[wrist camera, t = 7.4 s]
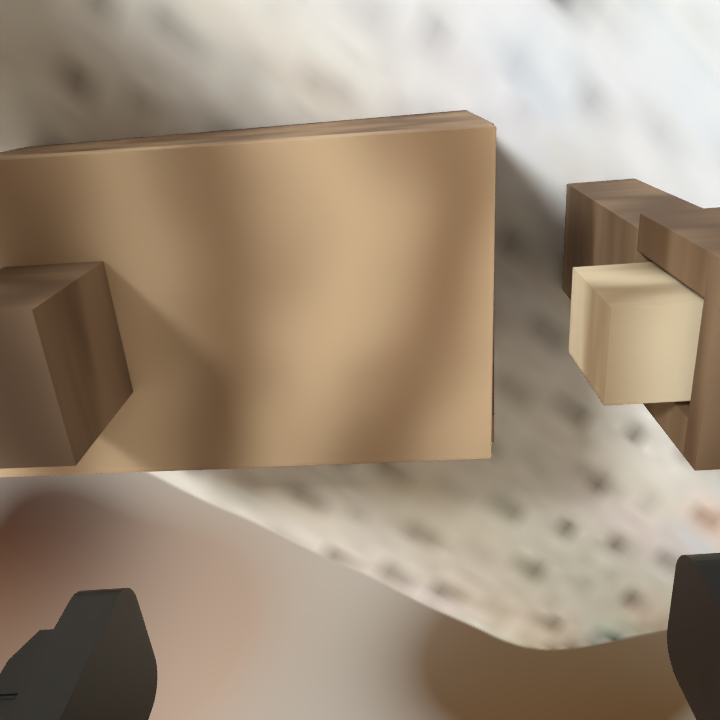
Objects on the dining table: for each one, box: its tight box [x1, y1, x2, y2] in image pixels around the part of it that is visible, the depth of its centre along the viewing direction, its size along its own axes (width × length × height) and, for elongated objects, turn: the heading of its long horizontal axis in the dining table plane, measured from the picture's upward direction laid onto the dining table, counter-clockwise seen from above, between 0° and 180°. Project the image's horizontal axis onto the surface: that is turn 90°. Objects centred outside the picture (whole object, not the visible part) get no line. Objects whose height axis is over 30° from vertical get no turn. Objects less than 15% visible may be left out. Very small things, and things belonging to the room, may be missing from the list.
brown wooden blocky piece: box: [0, 110, 720, 470], centre depth 25 cm, size 28×12×15 cm, turn 95°
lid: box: [0, 124, 496, 477], centre depth 22 cm, size 20×12×6 cm, turn 94°
